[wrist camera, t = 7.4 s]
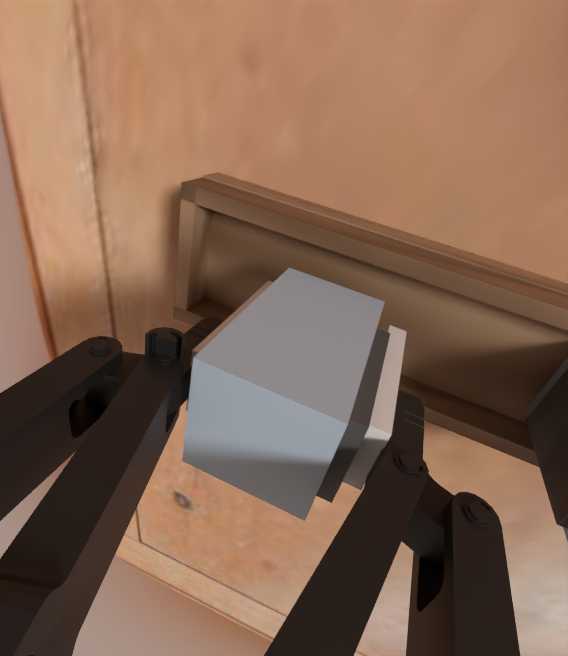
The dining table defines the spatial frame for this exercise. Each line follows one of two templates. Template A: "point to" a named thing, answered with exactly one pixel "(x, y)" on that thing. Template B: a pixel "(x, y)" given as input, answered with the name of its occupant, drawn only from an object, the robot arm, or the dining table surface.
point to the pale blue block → (287, 392)
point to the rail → (400, 311)
